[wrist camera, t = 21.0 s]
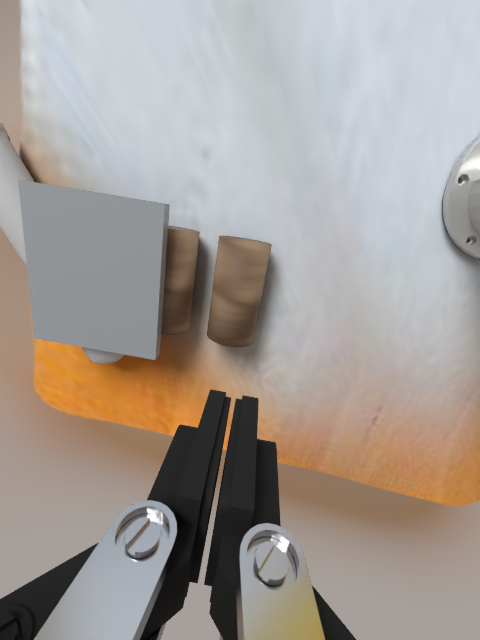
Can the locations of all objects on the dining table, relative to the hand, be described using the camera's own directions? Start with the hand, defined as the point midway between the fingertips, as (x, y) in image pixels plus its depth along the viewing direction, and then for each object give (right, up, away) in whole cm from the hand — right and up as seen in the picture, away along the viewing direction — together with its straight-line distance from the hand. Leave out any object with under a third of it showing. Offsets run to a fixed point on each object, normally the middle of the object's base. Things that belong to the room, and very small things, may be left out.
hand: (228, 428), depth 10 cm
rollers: (-3, +8, +21) cm, 23 cm away
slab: (-12, +8, +16) cm, 22 cm away
